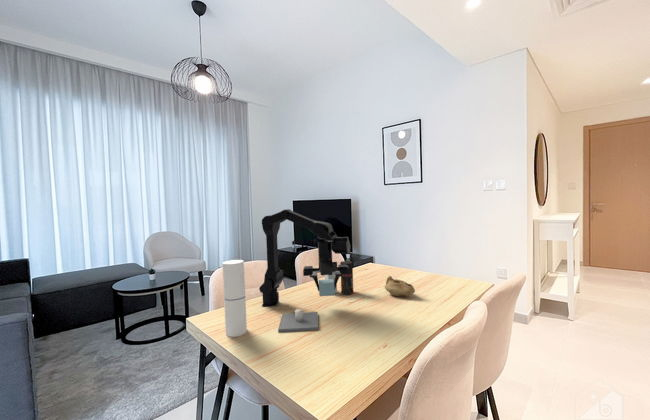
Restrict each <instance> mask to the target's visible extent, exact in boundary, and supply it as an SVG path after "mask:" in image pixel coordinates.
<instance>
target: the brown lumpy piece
mask: <svg viewBox="0 0 650 420" xmlns="http://www.w3.org/2000/svg"><path fill="white" fill-rule="evenodd" d="M384 289H385V291H386V292H388V293H389V294H390V295H392V296H394V297H404V296H410V295H414V293H415V292H416V289H415V288H414V285H413V284H411V283H408V282H407V281H404V280H401V279H394V278H393V277H392V276H391V275H388V277H387V278H386V280H385V286H384Z"/></svg>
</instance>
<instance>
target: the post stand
mask: <svg viewBox="0 0 650 420" xmlns="http://www.w3.org/2000/svg"><path fill="white" fill-rule="evenodd" d="M303 311H304V310H303V309H301V308H299V309H297V308H296V309H295V310H294V312H291V313H290V312H289V313H282V314H281V318H280V321H279V325H278V328H277V331H278V333H289V332H306V331H307V332H308V331H319V317H318V315H319V314H318V311H310V312H309V311H307V312H306V311H305V312H303Z"/></svg>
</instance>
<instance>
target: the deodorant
mask: <svg viewBox="0 0 650 420" xmlns="http://www.w3.org/2000/svg"><path fill="white" fill-rule="evenodd" d="M344 264H346V265H347V266H348V268H349V274H343V276H340V286H341V288H340V289H341V292H340V293H341V294H342V295H346V296H347V295H352V294H354V272H353V271H354V270H353V269H354V268H353V267H354V265H353V261H350V260H343V261H340V264H339V265H344Z"/></svg>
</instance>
